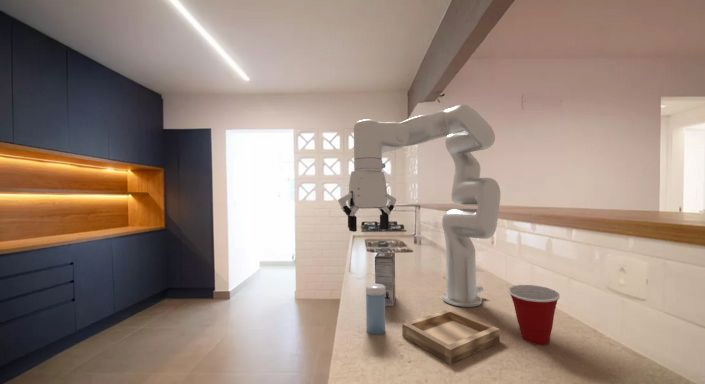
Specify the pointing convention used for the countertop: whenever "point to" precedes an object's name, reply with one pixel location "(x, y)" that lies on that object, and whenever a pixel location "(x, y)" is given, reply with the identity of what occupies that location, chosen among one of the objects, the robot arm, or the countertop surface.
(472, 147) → the robot arm
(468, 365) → the countertop surface
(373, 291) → the shaker
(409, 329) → the tray
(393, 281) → the coffee box
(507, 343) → the countertop surface
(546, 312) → the plastic cup
